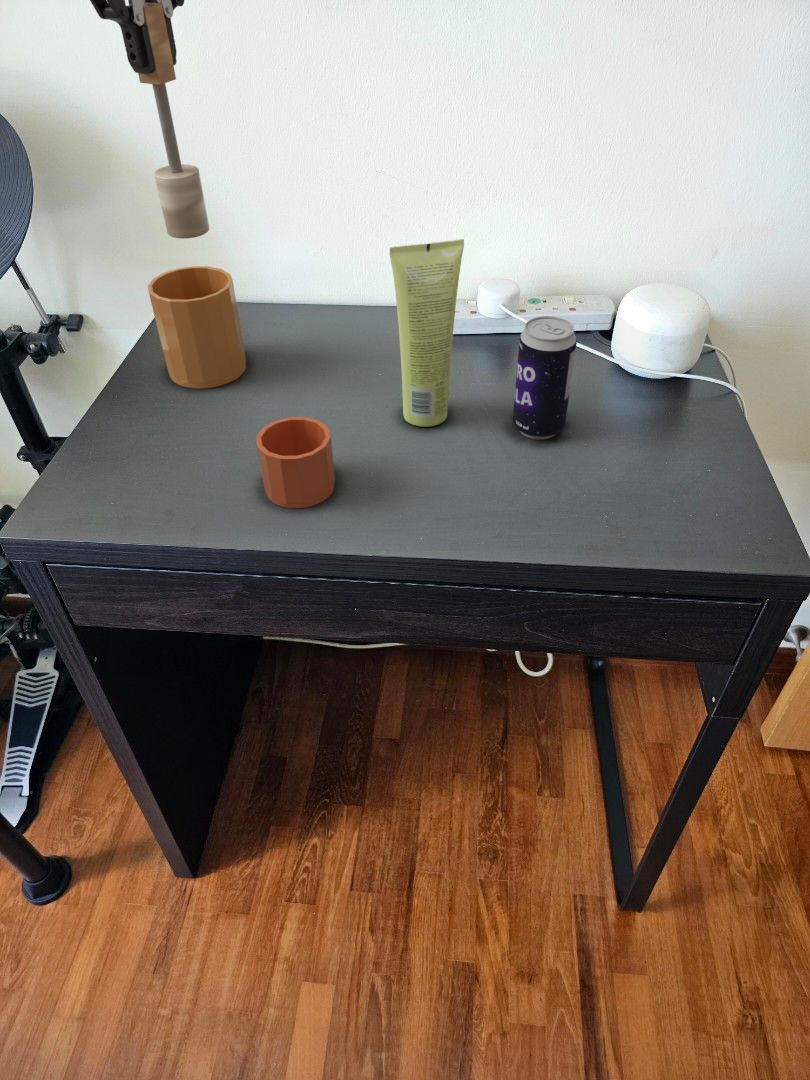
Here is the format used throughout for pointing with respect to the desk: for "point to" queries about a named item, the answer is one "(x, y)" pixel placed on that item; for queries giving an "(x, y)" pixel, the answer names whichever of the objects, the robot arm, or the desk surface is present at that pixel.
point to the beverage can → (544, 376)
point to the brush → (172, 141)
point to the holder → (296, 462)
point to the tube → (426, 325)
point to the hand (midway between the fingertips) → (155, 68)
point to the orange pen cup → (198, 326)
